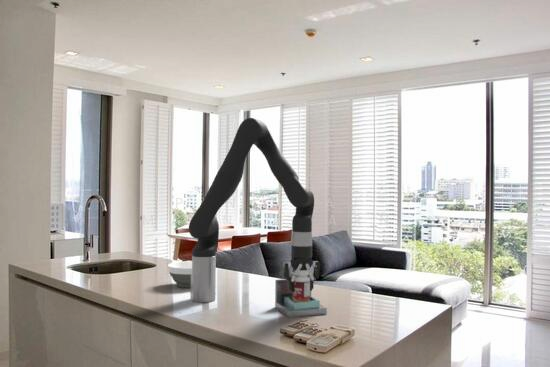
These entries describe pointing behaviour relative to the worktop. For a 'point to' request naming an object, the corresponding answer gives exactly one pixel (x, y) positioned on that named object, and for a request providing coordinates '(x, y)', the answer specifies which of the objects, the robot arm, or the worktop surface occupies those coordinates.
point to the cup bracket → (295, 308)
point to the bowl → (181, 273)
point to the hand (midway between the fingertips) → (301, 291)
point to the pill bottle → (302, 286)
